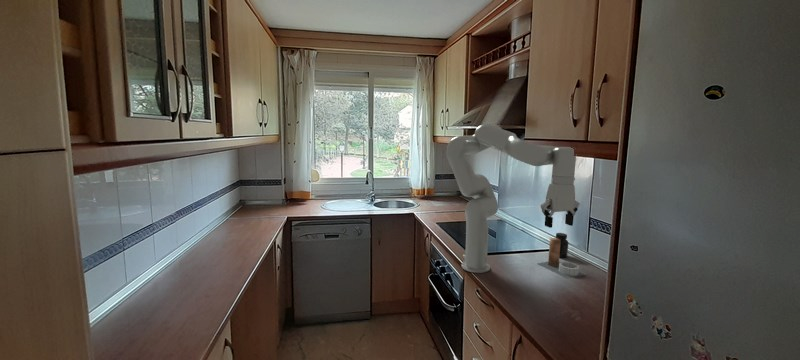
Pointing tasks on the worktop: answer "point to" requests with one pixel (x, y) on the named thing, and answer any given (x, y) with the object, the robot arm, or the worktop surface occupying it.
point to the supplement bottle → (563, 244)
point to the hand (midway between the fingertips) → (558, 225)
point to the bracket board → (555, 269)
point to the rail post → (554, 252)
